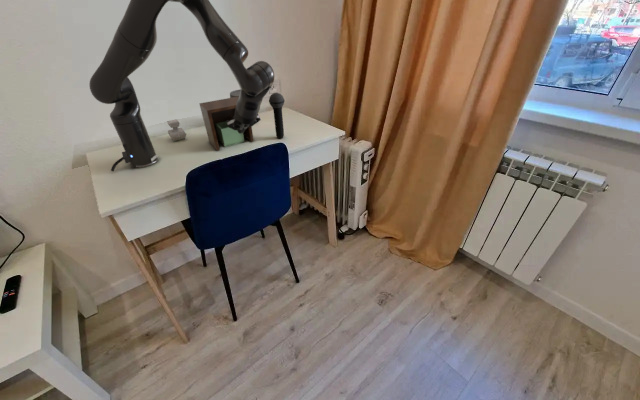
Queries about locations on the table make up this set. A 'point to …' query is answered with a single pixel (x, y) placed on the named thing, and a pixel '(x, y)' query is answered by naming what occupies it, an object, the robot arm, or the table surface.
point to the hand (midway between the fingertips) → (240, 131)
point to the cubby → (220, 118)
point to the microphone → (277, 113)
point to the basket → (228, 134)
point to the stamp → (176, 130)
